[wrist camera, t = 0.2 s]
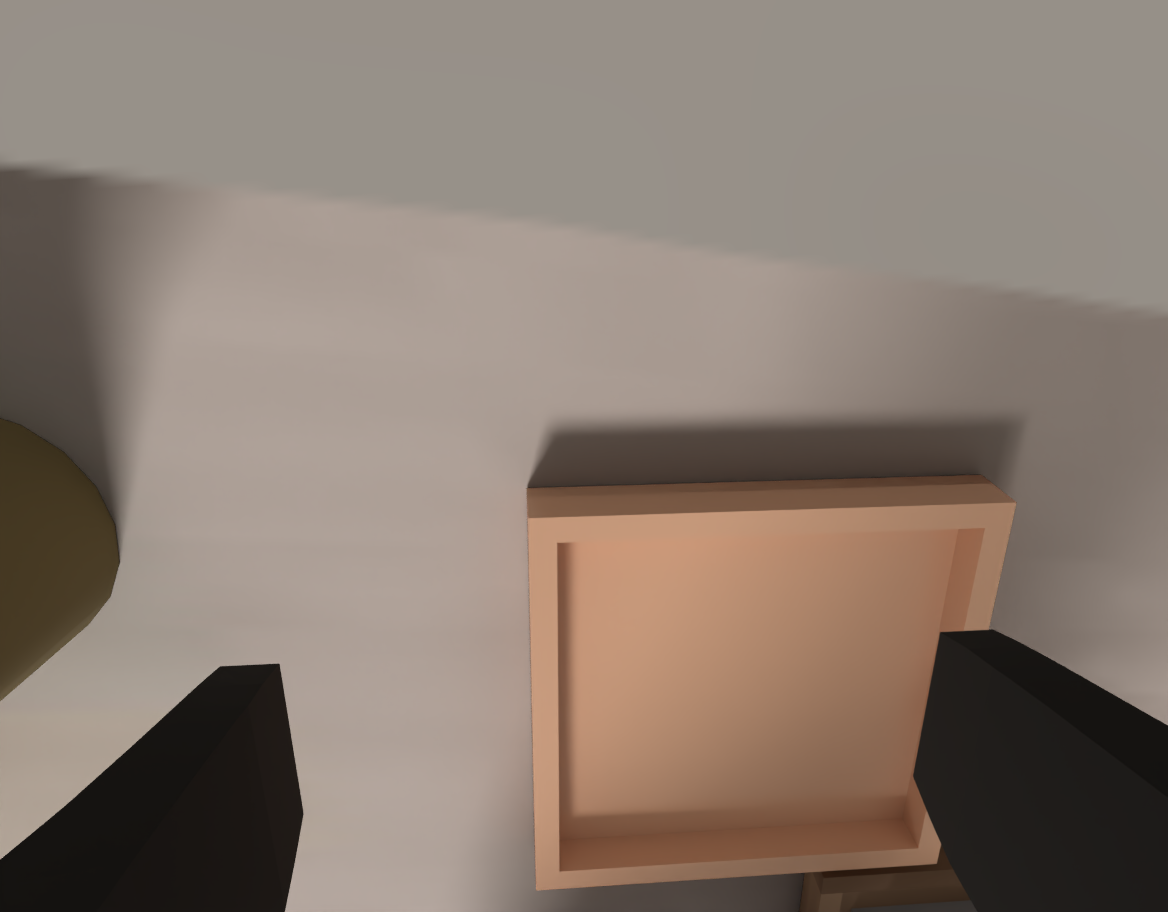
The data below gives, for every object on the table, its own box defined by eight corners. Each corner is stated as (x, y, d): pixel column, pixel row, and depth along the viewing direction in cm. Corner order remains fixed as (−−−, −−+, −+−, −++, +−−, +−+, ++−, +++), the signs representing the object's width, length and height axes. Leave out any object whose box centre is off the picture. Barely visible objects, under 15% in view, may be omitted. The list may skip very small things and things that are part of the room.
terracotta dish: (912, 819, 24) (936, 863, 23) (534, 843, 23) (536, 890, 22) (981, 474, 20) (1016, 502, 19) (526, 488, 19) (527, 518, 18)
